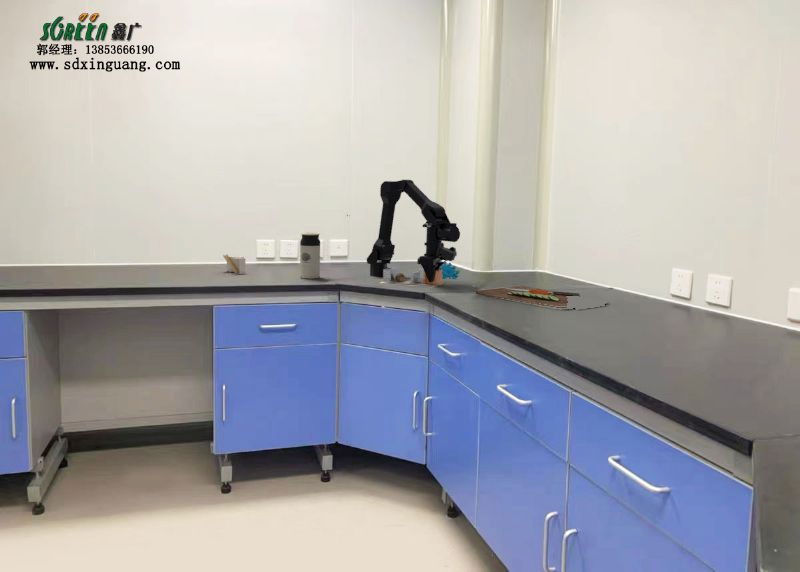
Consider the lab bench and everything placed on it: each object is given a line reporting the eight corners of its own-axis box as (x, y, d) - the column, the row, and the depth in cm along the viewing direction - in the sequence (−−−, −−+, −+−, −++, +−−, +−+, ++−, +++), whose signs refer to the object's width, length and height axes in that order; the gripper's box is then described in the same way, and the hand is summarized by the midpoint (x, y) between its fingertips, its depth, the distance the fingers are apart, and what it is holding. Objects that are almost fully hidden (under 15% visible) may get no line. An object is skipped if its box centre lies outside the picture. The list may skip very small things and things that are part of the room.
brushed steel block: (383, 282, 257) (383, 269, 257) (391, 279, 265) (391, 267, 264) (390, 282, 256) (390, 269, 255) (398, 280, 264) (398, 267, 263)
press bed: (378, 285, 256) (378, 281, 256) (390, 282, 267) (390, 277, 267) (433, 290, 248) (433, 285, 248) (443, 286, 259) (443, 281, 259)
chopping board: (467, 293, 247) (467, 285, 247) (517, 288, 263) (517, 280, 263) (566, 313, 212) (566, 304, 212) (616, 306, 228) (617, 297, 228)
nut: (393, 282, 258) (394, 273, 257) (397, 281, 261) (397, 272, 261) (402, 283, 257) (402, 273, 256) (406, 281, 260) (406, 272, 259)
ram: (410, 283, 254) (410, 269, 253) (416, 281, 260) (417, 267, 259) (436, 285, 250) (437, 271, 249) (442, 283, 256) (443, 269, 256)
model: (239, 275, 278) (239, 256, 277) (221, 272, 284) (221, 254, 283) (245, 274, 281) (245, 256, 280) (227, 272, 287) (227, 254, 286)
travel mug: (309, 275, 279) (309, 232, 276) (323, 277, 274) (324, 233, 272) (295, 277, 273) (296, 232, 270) (310, 279, 268) (310, 234, 265)
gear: (440, 278, 271) (435, 258, 276) (434, 286, 275) (428, 267, 280) (464, 280, 275) (458, 261, 281) (457, 289, 280) (451, 270, 285)
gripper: (446, 242, 240) (445, 286, 242) (462, 239, 257) (460, 280, 260) (417, 241, 244) (416, 283, 247) (434, 238, 261) (433, 277, 264)
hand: (432, 281), depth 254 cm, fingers closed on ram, 4 cm apart
